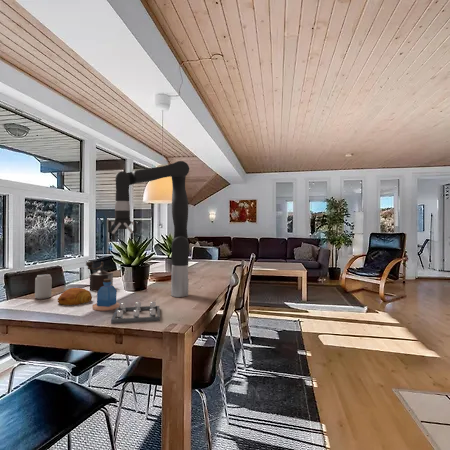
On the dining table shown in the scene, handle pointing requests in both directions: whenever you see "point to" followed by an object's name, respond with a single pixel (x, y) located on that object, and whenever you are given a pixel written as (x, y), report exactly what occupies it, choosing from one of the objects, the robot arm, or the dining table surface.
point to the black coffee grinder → (98, 277)
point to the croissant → (75, 296)
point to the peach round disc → (102, 308)
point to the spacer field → (136, 313)
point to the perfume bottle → (106, 294)
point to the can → (43, 286)
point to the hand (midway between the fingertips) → (122, 240)
